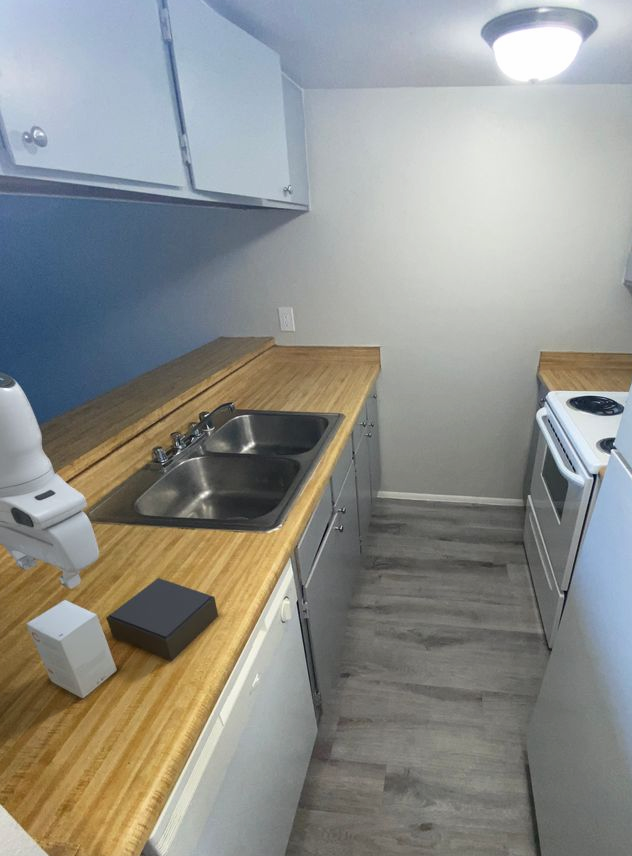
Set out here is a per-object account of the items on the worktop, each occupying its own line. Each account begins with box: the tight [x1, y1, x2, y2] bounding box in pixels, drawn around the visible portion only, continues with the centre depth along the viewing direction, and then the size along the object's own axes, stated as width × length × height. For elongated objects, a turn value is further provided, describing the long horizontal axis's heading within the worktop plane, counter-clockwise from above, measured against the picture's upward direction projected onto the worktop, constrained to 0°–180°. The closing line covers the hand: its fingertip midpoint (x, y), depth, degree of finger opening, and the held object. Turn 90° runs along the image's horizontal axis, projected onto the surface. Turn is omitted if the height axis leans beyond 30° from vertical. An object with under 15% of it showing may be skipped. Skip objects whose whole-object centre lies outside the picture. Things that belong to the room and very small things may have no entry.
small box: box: [25, 599, 118, 699], centre depth 77 cm, size 8×6×13 cm
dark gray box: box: [105, 577, 219, 662], centre depth 89 cm, size 14×12×5 cm
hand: (49, 575), depth 68 cm, fingers open, 8 cm apart
